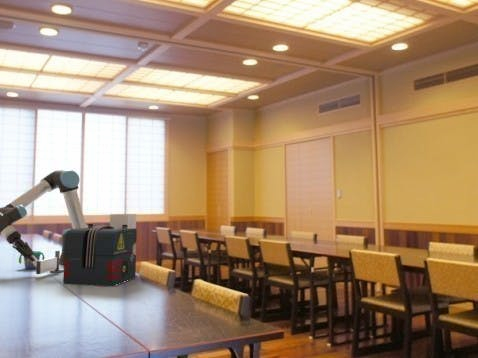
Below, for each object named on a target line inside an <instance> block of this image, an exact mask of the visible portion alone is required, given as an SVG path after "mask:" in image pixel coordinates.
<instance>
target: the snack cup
mask: <svg viewBox="0 0 478 358" xmlns="http://www.w3.org/2000/svg"><path fill="white" fill-rule="evenodd" d="M32 251H33V252H34V256H35V258H36V259H37V260H38V261H40V259H41V258H42V259H41V260H44V259H45V254H44V252H42V251H39V250H32ZM19 255H20V256H19V258H18V262H19V264H22V257H23V262H24V263H23V264H24V268H25V269H27V270H28V269H30V270H31V269H36V266H35V265H34V264H33V263H32V262H31V261H30V260H29V258H28V259H26V258H27V257H26V258H25V257H24V256H23V255H21V254H19ZM41 255H42V257H41Z"/></svg>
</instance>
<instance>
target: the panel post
mask: <svg viewBox="0 0 478 358" xmlns="http://www.w3.org/2000/svg"><path fill="white" fill-rule="evenodd" d="M54 252H55V253H54V257H57V269H55V270H52V271H49V273H50V274H60V273H64V269H60V264H59V259H60V256H61V254H60V250H55V251H54Z"/></svg>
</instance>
